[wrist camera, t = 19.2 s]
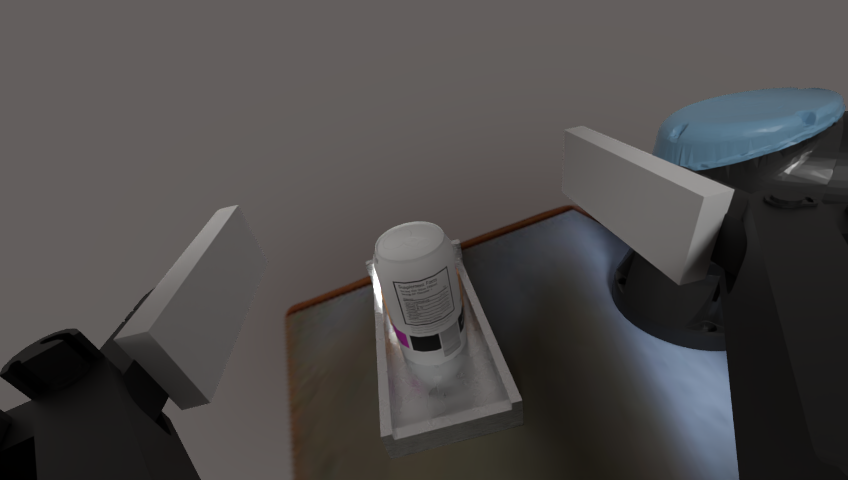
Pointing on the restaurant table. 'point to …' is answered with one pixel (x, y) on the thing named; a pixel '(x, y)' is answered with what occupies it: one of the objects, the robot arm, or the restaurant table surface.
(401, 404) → the white drawer tray
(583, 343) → the restaurant table surface
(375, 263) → the supplement can
